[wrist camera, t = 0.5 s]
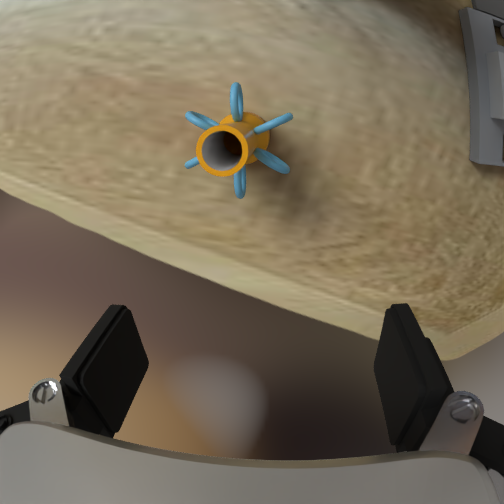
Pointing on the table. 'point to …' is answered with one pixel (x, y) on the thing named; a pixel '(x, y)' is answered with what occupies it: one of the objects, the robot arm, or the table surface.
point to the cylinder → (235, 142)
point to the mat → (490, 7)
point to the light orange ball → (502, 30)
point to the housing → (484, 85)
